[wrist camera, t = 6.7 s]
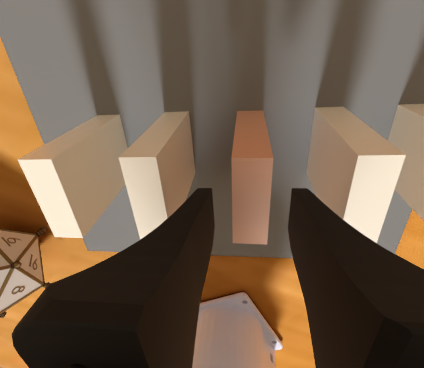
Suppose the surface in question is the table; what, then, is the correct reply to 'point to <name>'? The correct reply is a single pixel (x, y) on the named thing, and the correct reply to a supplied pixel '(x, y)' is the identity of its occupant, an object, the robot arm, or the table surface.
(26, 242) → the game die
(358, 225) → the domino
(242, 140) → the domino
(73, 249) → the table surface
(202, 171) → the felt mat
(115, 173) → the domino
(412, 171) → the domino
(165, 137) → the domino
